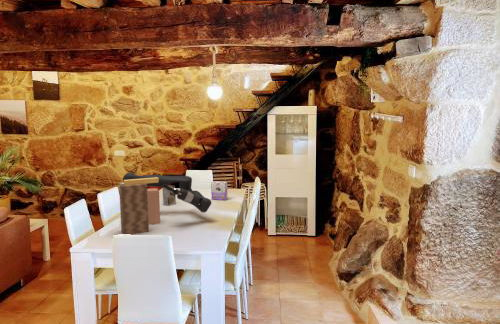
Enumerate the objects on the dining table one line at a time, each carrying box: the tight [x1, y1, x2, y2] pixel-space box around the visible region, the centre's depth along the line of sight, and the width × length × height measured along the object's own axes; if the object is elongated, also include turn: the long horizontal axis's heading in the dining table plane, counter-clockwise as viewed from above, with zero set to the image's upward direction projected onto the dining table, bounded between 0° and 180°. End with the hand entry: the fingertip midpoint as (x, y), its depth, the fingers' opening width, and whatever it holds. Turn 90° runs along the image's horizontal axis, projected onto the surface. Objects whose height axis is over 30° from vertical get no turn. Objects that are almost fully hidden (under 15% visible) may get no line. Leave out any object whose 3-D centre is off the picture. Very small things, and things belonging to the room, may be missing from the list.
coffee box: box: [162, 184, 177, 207], centre depth 329 cm, size 9×6×16 cm
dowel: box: [123, 177, 159, 185], centre depth 254 cm, size 22×4×3 cm, turn 117°
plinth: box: [118, 183, 150, 235], centre depth 254 cm, size 16×10×32 cm, turn 117°
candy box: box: [210, 180, 229, 201], centre depth 346 cm, size 14×6×16 cm, turn 76°
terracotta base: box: [147, 187, 161, 226], centre depth 275 cm, size 9×9×24 cm
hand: (165, 186), depth 261 cm, fingers open, 8 cm apart
